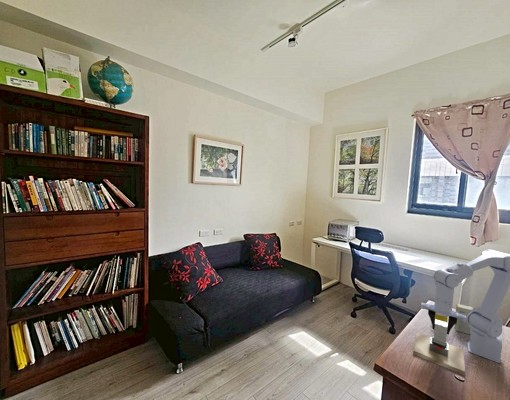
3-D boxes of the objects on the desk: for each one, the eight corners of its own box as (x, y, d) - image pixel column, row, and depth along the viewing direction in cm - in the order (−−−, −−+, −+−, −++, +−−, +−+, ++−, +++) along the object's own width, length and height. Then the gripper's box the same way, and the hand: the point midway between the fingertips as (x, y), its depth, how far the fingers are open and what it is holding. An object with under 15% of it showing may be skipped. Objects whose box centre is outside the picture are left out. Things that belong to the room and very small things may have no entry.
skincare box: (470, 330, 114) (473, 306, 113) (472, 335, 111) (475, 310, 110) (453, 326, 118) (456, 302, 117) (455, 330, 114) (457, 306, 113)
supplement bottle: (448, 329, 114) (451, 310, 114) (436, 327, 115) (438, 309, 115) (442, 323, 120) (444, 305, 119) (430, 321, 121) (432, 303, 120)
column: (445, 341, 97) (447, 323, 97) (445, 346, 94) (447, 327, 94) (433, 336, 100) (435, 319, 99) (433, 341, 97) (434, 323, 96)
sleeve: (447, 349, 98) (448, 342, 98) (447, 358, 93) (448, 351, 92) (429, 342, 102) (430, 336, 101) (429, 350, 96) (429, 344, 96)
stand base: (462, 352, 99) (462, 349, 98) (464, 375, 86) (465, 371, 86) (416, 335, 109) (417, 332, 109) (413, 353, 96) (413, 350, 96)
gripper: (421, 296, 97) (418, 327, 98) (468, 309, 88) (464, 343, 89) (422, 291, 103) (419, 320, 104) (466, 303, 93) (463, 335, 94)
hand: (440, 330), depth 97 cm, fingers closed on column, 4 cm apart
